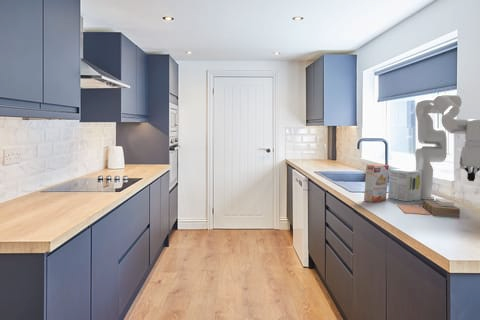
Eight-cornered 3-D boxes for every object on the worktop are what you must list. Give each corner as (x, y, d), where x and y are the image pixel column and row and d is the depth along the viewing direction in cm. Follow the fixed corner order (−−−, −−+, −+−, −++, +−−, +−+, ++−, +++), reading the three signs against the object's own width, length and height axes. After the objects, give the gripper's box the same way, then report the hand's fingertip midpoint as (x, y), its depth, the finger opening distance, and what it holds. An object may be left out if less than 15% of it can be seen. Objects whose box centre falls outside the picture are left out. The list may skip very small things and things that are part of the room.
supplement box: (405, 201, 225) (408, 171, 223) (387, 197, 236) (389, 169, 234) (420, 200, 231) (422, 170, 229) (402, 196, 242) (404, 168, 241)
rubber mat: (396, 205, 213) (396, 204, 213) (420, 206, 210) (420, 206, 210) (404, 213, 193) (404, 212, 193) (430, 214, 191) (430, 214, 191)
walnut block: (422, 206, 210) (422, 199, 210) (446, 208, 208) (447, 201, 207) (432, 215, 191) (433, 207, 190) (459, 217, 188) (459, 208, 188)
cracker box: (372, 202, 218) (374, 165, 216) (363, 200, 223) (365, 164, 221) (387, 200, 226) (389, 164, 224) (378, 198, 231) (380, 163, 229)
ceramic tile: (435, 202, 203) (436, 198, 203) (448, 203, 202) (448, 199, 202) (440, 205, 195) (441, 201, 194) (453, 206, 193) (454, 202, 193)
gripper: (487, 144, 195) (484, 180, 197) (454, 143, 198) (452, 179, 200) (493, 145, 188) (490, 182, 189) (459, 144, 191) (457, 181, 192)
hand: (470, 180), depth 195 cm, fingers closed
